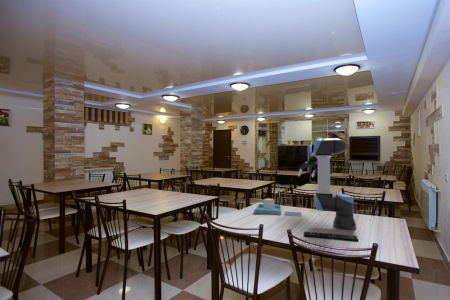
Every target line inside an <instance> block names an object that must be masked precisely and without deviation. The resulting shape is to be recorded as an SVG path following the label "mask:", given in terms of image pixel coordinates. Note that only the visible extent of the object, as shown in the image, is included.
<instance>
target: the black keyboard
mask: <svg viewBox="0 0 450 300" xmlns="http://www.w3.org/2000/svg"><path fill="white" fill-rule="evenodd" d="M303 236H304V238H314V239H325V240H335V241H345V242H348V241H349V242H357V243H358V242H359V239H358V237H357V235H350V234H348V235H347V234H340V233H339V234H338V233H326V232H325V233H324V232H315V231H303Z"/></svg>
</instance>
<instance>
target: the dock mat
mask: <svg viewBox="0 0 450 300" xmlns="http://www.w3.org/2000/svg"><path fill="white" fill-rule="evenodd" d="M287 216H288V217H303V215H302V212H300V211H284V217H287Z"/></svg>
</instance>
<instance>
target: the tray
mask: <svg viewBox="0 0 450 300" xmlns="http://www.w3.org/2000/svg"><path fill="white" fill-rule="evenodd" d="M282 209H283V206H282V204H275V210H264V203H257V205H256V207H255V209H254V210H255V211H254V213H255V215H278V216H279V215H280V216H281V215H282Z"/></svg>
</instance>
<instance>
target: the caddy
mask: <svg viewBox="0 0 450 300" xmlns="http://www.w3.org/2000/svg"><path fill="white" fill-rule="evenodd" d="M275 203H276V202H275V199H273V198H264V199H263V204H264V210H275V205H276V204H275Z"/></svg>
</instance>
